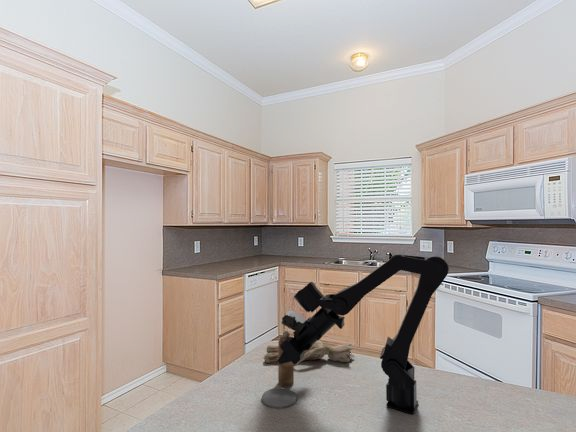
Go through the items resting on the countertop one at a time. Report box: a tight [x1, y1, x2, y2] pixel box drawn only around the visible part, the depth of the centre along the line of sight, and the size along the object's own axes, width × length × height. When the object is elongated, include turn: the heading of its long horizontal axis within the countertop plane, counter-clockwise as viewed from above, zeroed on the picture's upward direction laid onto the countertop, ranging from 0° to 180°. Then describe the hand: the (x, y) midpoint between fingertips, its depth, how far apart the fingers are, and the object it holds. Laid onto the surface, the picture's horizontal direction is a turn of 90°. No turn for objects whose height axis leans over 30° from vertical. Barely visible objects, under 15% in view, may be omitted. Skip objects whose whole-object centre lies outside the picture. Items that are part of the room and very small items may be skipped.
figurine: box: [264, 340, 355, 367], centre depth 112 cm, size 17×6×30 cm
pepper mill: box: [277, 330, 295, 388], centre depth 95 cm, size 4×4×15 cm
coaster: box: [261, 387, 297, 409], centre depth 86 cm, size 9×9×1 cm
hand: (281, 359), depth 95 cm, fingers closed on pepper mill, 4 cm apart
